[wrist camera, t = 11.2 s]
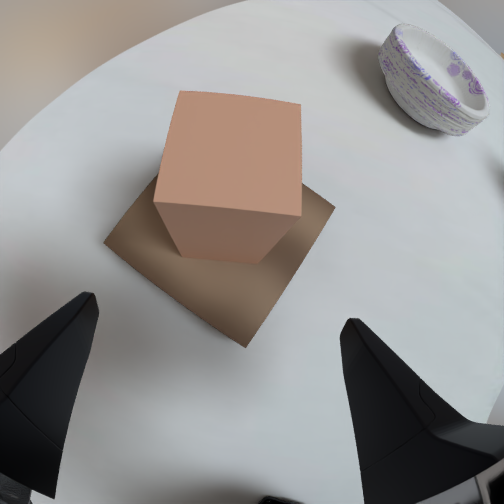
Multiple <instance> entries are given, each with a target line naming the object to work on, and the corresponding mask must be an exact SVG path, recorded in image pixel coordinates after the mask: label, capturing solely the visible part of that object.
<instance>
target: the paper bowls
mask: <svg viewBox="0 0 504 504" xmlns="http://www.w3.org/2000/svg"><path fill="white" fill-rule="evenodd" d="M378 60H379V63H380V66H381V69H382V71H383V73H384V75H385V79H386V84H387V87H388V89H389V91H390V93H391V95H392V97H393V98H394V100H395V101H396V102H397V103H398V105H399V106H400V107H401V108H402V109H403V110H404V111H405V112H406V113H407V114H408V115H409V116H410V117H412V118H413V119H414V120H416V121H417V122H419V123H420V124H422V125H424V126H426V127H429V128H432V129H438V130H440V131H442V132H444V133H446V134H449V135H452V136H462V135H465V134H466V133H467V132H469V131H470V130H471V129H473V128H474V127H475V126H477V125H478V124H479V123H481V122H482V121H483V120H484V119H486V118H487V117H488V115H489V111H490V106H489V101H488V98H487V95H486V93H485V91H484V89H483V87H482V85H481V83H480V82H479V80H478V79H477V77H476V76H475V74H474V73H473V72H472V70H471V69H470V68H469V66H468V65H467V64H466V63H465V62H464V61H463V60H462V59H461V57H460V56H458V55H457V54H456V53H455V52H454V51H453V50H452V49H451V48H450V47H449V46H447V45H446V44H445V43H444V42H442V41H441V40H440V39H438V38H437V37H435V36H434V35H432V34H430V33H429V32H427V31H425V30H423V29H421V28H419V27H416V26H413V25H409V24H399V25H397V26H396V27H394V28H393V30H392V32H391V33H390V35H389V36H388V37H387V39H386V40H385V42H384V43H383V45H382V46H381V49H380V50H379V54H378Z"/></svg>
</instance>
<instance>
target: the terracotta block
mask: <svg viewBox="0 0 504 504" xmlns="http://www.w3.org/2000/svg"><path fill="white" fill-rule="evenodd" d="M153 202H154V204H155V206H156V208H157V210H158V212H159V214H160V216H161V218H162V220H163V222H164V224H165V226H166V228H167V230H168V232H169V233H170V235H171V237H172V239H173V241H174V243H175V245H176V247H177V249H178V250H179V252H180V254H181V256H182V257H186V258H196V259H207V260H218V261H228V262H239V263H250V264H258V263H259V262H260V261H261V260H262V259H263V258H264V257H265V255H266V254H267V253H268V252H269V251H270V250H271V249H272V248H273V247H274V246H275V245H276V244H277V242H278V241H279V240H280V239H281V238H282V237H283V236H284V235H285V234H286V233H287V232H288V231H289V229H290V228H291V227H292V226H293V225H294V224H295V223H296V222H297V221H298V220H299V219H300V217H301V214H302V135H301V105H300V104H295V103H290V102H284V101H278V100H272V99H265V98H258V97H251V96H242V95H234V94H224V93H212V92H197V91H179V95H178V98H177V102H176V105H175V109H174V112H173V116H172V120H171V123H170V127H169V131H168V135H167V139H166V143H165V148H164V152H163V156H162V161H161V165H160V170H159V174H158V179H157V184H156V189H155V194H154V200H153Z"/></svg>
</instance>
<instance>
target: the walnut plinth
mask: <svg viewBox="0 0 504 504" xmlns="http://www.w3.org/2000/svg"><path fill="white" fill-rule="evenodd" d="M158 174H159V173H158ZM158 174H157V176H156V177H155V178H154V179H153V180H152V181H151V183H150V184H149V185H148V186H147V187H146V189H145V190H144V191H143V192H142V193H141V195H140V196H139V197H138V198H137V199H136V201H135V202H134V203H133V204H132V206H131V207H130V208H129V209H128V211H127V212H126V213H125V215H124V216H123V217H122V218H121V220H120V221H119V222H118V224H117V225H116V226H115V228H114V229H113V230H112V232H111V233H110V234H109V236H108V237H107V239H106V240H105V241H104V244H105V245H106V246H108V247H109V248H110V249H111V250H112V251H114V252H115V253H116V254H117V255H118V256H120V257H121V258H122V259H123V260H125V261H126V262H127V263H128V264H130V265H131V266H132V267H133V268H135V269H136V270H137V271H138V272H140V273H141V274H142V275H143V276H145V277H146V278H147V279H149V280H150V281H151V282H153V283H154V284H155V285H156V286H158V287H159V288H160V289H162V290H163V291H164V292H166V293H167V294H168V295H170V296H171V297H172V298H174V299H175V300H177V301H178V302H179V303H181V304H182V305H183V306H185V307H186V308H188V309H189V310H190V311H192V312H193V313H195V314H196V315H197V316H199V317H200V318H202V319H203V320H204V321H206V322H207V323H209V324H210V325H212V326H213V327H215V328H216V329H218V330H219V331H220V332H222V333H223V334H225V335H226V336H228V337H229V338H231V339H232V340H234V341H235V342H237V343H239V344H240V345H242V346H243V347H245V348H246V347H247V345H248V344H249V342H250V341H251V340H252V338H253V337H254V335H255V334H256V332H257V331H258V329H259V328H260V326H261V325H262V323H263V322H264V320H265V319H266V317H267V316H268V314H269V313H270V311H271V310H272V308H273V307H274V305H275V304H276V302H277V301H278V299H279V298H280V296H281V295H282V293H283V291H284V290H285V288H286V287H287V285H288V284H289V282H290V281H291V279H292V277H293V276H294V274H295V273H296V271H297V270H298V268H299V266H300V265H301V263H302V262H303V260H304V258H305V257H306V255H307V254H308V252H309V250H310V249H311V247H312V246H313V244H314V242H315V241H316V239H317V237H318V236H319V234H320V232H321V231H322V229H323V228H324V226H325V224H326V223H327V221H328V219H329V218H330V216H331V214H332V213H333V211H334V209H335V206H333V205H332V204H331V203H329V202H328V201H327V200H325V199H324V198H322V197H321V196H320V195H318V194H317V193H315V192H314V191H313V190H311V189H310V188H308V187H307V186H305V185H304V184H303V183H302V214H301V217H300V219H299V220H298V221H297V222H296V223H295V224H294V225H293V226H292V227H291V228H290V229H289V231H288V232H287V233H286V234H285V235H284V236H283V237H282V238H281V239H280V240H279V241H278V242H277V244H276V245H275V246H274V247H273V248H272V249H271V250H270V251H269V252H268V253H267V254H266V255H265V257H264V258H263V259H262V260H261V261H260V262H259V263H258V264H250V263H239V262H228V261H218V260H207V259H196V258H186V257H182V256H181V254H180V252H179V250H178V249H177V247H176V245H175V243H174V241H173V239H172V237H171V235H170V233H169V232H168V230H167V228H166V226H165V224H164V222H163V220H162V218H161V216H160V214H159V212H158V210H157V208H156V206H155V204H154V202H153V200H154V194H155V189H156V184H157V179H158Z"/></svg>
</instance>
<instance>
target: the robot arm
mask: <svg viewBox="0 0 504 504" xmlns="http://www.w3.org/2000/svg"><path fill="white" fill-rule="evenodd" d="M98 316H99V309H98V305H97V301H96V297H95V295H94V293H91V292H82V293H81V294H79V295H78V296H76V297H75V298H74V299H72V300H71V301H69V302H68V303H67V304H65V305H64V306H63V307H61V308H60V309H59V310H57V311H56V312H54V313H53V314H52V315H50V316H49V317H48V318H46V319H45V320H44V321H42V322H41V323H40V324H39V325H37V326H36V327H35V328H33V329H32V330H31V331H29V332H28V333H27V334H26V335H24V336H23V337H22V338H21V339H19V340H18V341H17V342H16V343H14V344H13V345H12V346H10V347H9V348H8V349H7V350H5V351H4V352H3V353H2V354H0V504H32V502H31V500H30V497H31V492H32V490H34V491H36V492H38V493H41V494H43V495H45V496H48V497H50V498H52V499H55V493H56V486H57V480H58V474H59V468H60V463H61V458H62V453H63V451H62V450H63V447H64V442H65V438H66V434H67V429H68V425H69V421H70V417H71V413H72V410H73V406H74V402H75V399H76V395H77V392H78V388H79V385H80V382H81V378H82V375H83V372H84V369H85V366H86V363H87V360H88V357H89V353H90V350H91V346H92V341H93V337H94V333H95V328H96V324H97V320H98ZM340 346H341V356H342V366H343V375H344V380H345V385H346V390H347V395H348V401H349V406H350V411H351V417H352V422H353V428H354V434H355V440H356V446H357V452H358V459H359V465H360V472H361V480H362V488H363V496H364V504H504V426H501V425H491V424H483V423H476V422H472V421H470V420H468V419H466V418H465V417H464V416H462V415H461V414H460V413H459V412H458V411H456V410H455V409H454V408H453V407H452V406H450V405H449V404H448V403H447V402H446V401H444V400H443V399H442V398H441V397H440V396H439V395H438V394H437V393H435V392H434V391H433V390H432V389H431V388H430V387H429V386H428V385H427V384H426V383H425V382H424V381H423V380H422V379H420V377H419V376H418V375H417V374H416V373H415V372H414V371H413V370H412V369H411V368H410V367H409V366H408V365H407V364H406V363H405V362H404V361H403V360H402V359H401V358H400V357H399V356H398V355H397V354H396V353H395V352H394V351H393V350H391V349H390V348H389V347H388V346H387V345H386V344H385V343H384V342H383V341H382V340H381V339H380V338H379V337H378V336H377V335H376V334H375V333H374V332H373V331H372V330H371V329H370V328H369V327H368V326H367V325H366V324H365V323H364V322H362V321H361V320H360V319H358V318H349V319H348V320H347V321H346V323H345V325H344V327H343V329H342V331H341V334H340ZM267 501H270V502H267ZM259 504H296V503H293V502H285V501H282V500H279V499H276V498H274V497H270V496H268V497H265V498H263V499H262V501H261V502H260V503H259Z"/></svg>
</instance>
